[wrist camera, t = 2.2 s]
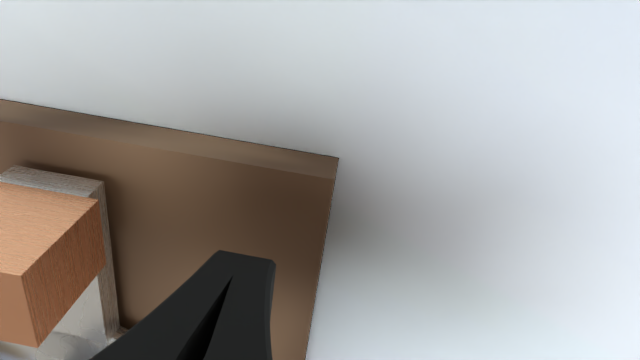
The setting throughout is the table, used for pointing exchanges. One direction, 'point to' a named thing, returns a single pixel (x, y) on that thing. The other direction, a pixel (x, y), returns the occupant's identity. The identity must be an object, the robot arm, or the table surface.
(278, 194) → the walnut board
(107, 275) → the dial plate
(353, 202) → the table surface
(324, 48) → the table surface
